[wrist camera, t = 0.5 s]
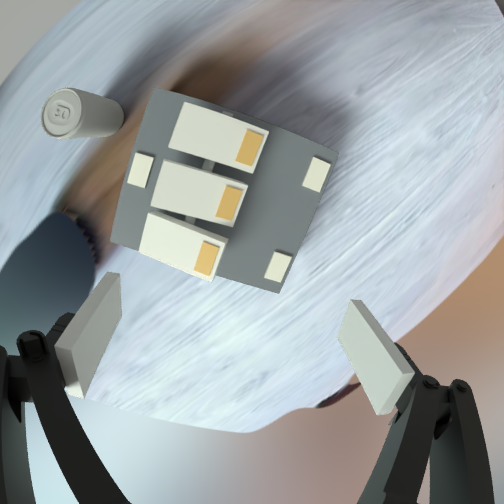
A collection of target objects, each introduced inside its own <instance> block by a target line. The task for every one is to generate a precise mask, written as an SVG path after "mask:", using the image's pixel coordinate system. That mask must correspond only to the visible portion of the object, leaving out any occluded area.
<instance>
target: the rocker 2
mask: <svg viewBox="0 0 504 504" xmlns="http://www.w3.org/2000/svg"><path fill="white" fill-rule="evenodd" d="M247 188H248V185H246V184H245V183H244V182H241V181H238V180H235V179H232V178H229V177H225V176H222V175H219V174H216V173H212V172H209V171H206V170H202V169H199V168H196V167H192V166H189V165H185V164H182V163H178V162H175V161H171V160H168V159H164V160H163V163H162V166H161V170H160V173H159V176H158V179H157V183H156V186H155V190H154V193H153V196H152V200H151V206H153V207H157V208H161V209H165V210H168V211H172V212H176V213H180V214H184V215H188V216H192V217H196V218H200V219H203V220H207V221H211V222H215V223H219V224H222V225H226V226H230V227H233V225H234V223H235V220H236V217H237V214H238V212H239V209H240V206H241V204H242V201H243V198H244V196H245V193H246V190H247Z"/></svg>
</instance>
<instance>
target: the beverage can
mask: <svg viewBox="0 0 504 504" xmlns="http://www.w3.org/2000/svg"><path fill="white" fill-rule="evenodd" d="M123 120H124V114H123V110H122V108H121V106H120V105H119V104H118V103H117V102H116V101H114V100H112V99H109V98H106V97H102V96H99V95H96V94H93V93H89V92H86V91H82V90H79V89H75V88H63V89H59V90H57V91H55V92H54V93H52V94H51V95H50V96H49V97H48V99H47V100H46V101H45V104H44V106H43V108H42V112H41V124H42V127H43V129H44V131H45V132H46V134H47V135H49V136H51V137H53V138H56V139H73V138H86V137H107V136H110V135H113V134H114V133H116V132H117V131H118V130H119V129H120V127H121V125H122V123H123Z"/></svg>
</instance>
